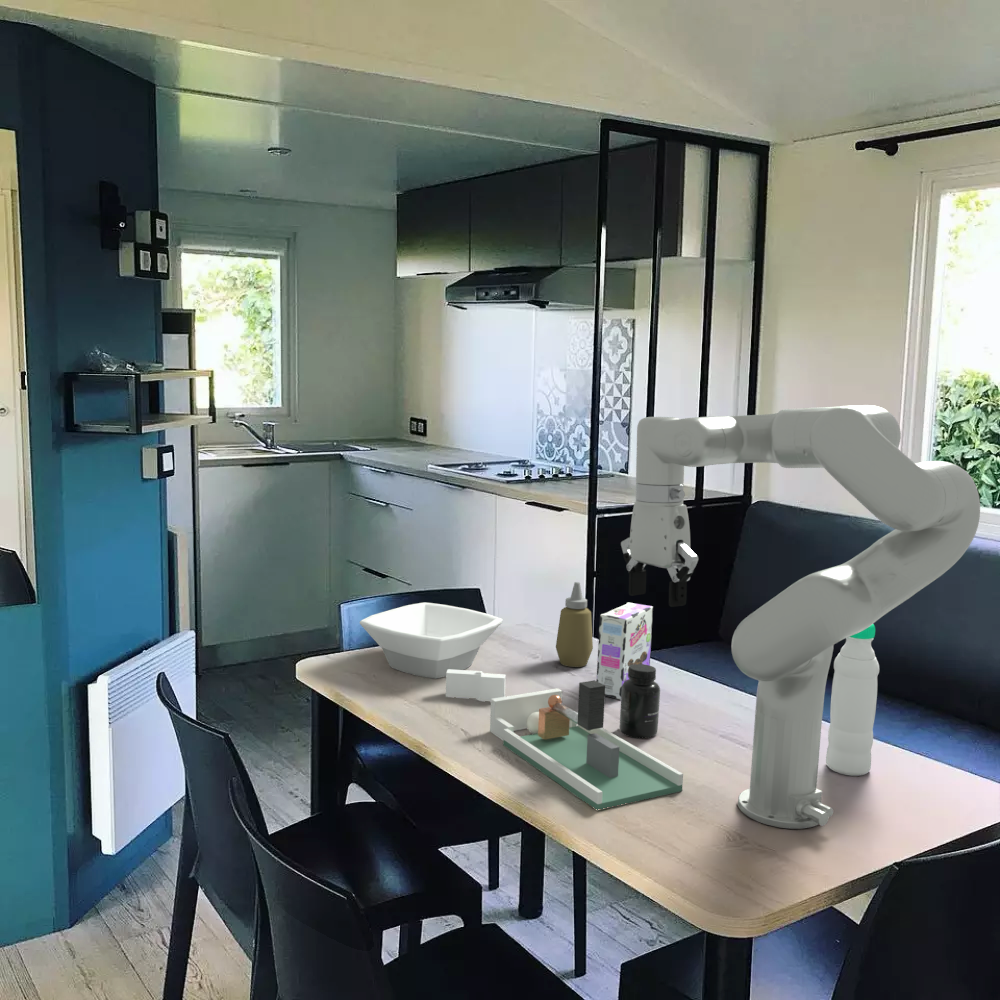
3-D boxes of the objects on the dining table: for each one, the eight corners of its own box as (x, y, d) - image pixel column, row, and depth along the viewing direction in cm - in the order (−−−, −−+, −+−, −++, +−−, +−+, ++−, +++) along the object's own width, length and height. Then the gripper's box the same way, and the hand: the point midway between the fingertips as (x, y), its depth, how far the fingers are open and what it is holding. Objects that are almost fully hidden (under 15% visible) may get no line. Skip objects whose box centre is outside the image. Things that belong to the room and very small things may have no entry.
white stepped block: (428, 697, 199) (429, 669, 198) (470, 685, 207) (471, 658, 206) (483, 718, 189) (484, 688, 188) (525, 704, 197) (526, 676, 196)
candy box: (621, 700, 200) (625, 618, 197) (594, 694, 203) (598, 613, 200) (650, 682, 211) (654, 605, 209) (624, 677, 214) (628, 600, 212)
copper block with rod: (606, 758, 167) (610, 684, 165) (581, 763, 164) (584, 689, 162) (561, 730, 178) (564, 661, 176) (537, 735, 176) (540, 665, 174)
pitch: (682, 790, 159) (684, 754, 158) (597, 810, 151) (599, 772, 150) (561, 719, 189) (562, 687, 188) (484, 732, 181) (485, 699, 180)
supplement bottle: (656, 741, 179) (660, 675, 177) (617, 737, 180) (620, 671, 179) (658, 727, 186) (662, 663, 184) (620, 723, 187) (624, 660, 185)
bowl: (348, 668, 214) (348, 621, 213) (423, 643, 235) (424, 599, 233) (439, 693, 201) (440, 642, 199) (511, 664, 221) (512, 617, 220)
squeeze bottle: (593, 670, 218) (597, 587, 216) (555, 668, 218) (559, 586, 216) (590, 659, 226) (594, 579, 224) (554, 657, 226) (557, 578, 224)
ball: (542, 707, 183) (540, 728, 183) (523, 710, 181) (521, 731, 181) (554, 715, 179) (552, 736, 180) (534, 718, 177) (533, 740, 178)
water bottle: (816, 763, 172) (828, 618, 168) (849, 758, 174) (861, 615, 171) (845, 779, 165) (858, 629, 162) (879, 774, 168) (893, 626, 164)
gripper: (715, 498, 158) (712, 607, 160) (642, 488, 172) (639, 588, 174) (678, 501, 154) (675, 613, 156) (607, 490, 168) (605, 593, 170)
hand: (656, 600), depth 165 cm, fingers open, 9 cm apart
